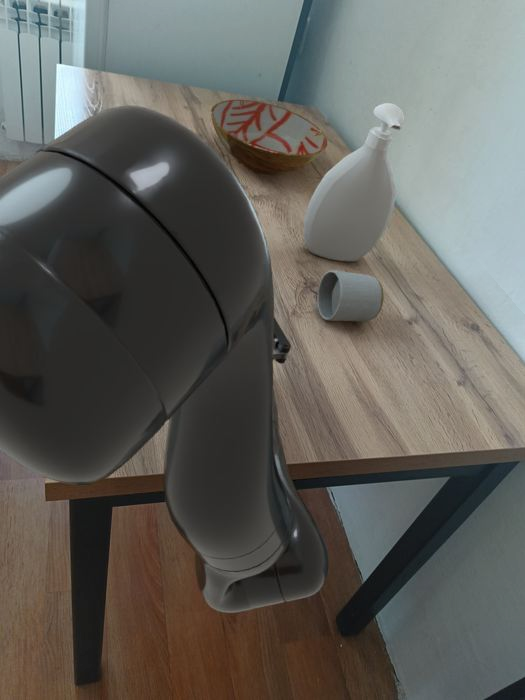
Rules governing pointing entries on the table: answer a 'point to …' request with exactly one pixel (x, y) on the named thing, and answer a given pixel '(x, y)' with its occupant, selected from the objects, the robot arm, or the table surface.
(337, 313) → the ceramic mug
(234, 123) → the bowl
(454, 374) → the table surface
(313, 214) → the soap bottle
